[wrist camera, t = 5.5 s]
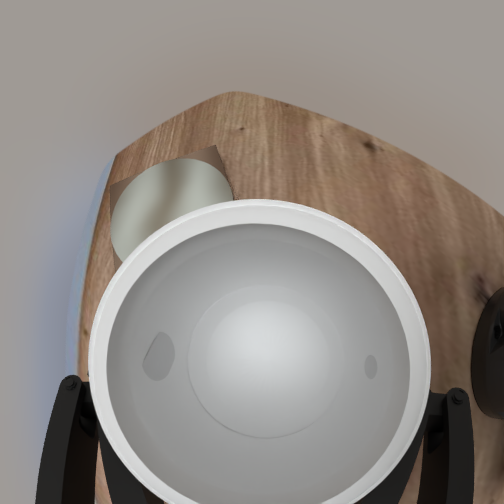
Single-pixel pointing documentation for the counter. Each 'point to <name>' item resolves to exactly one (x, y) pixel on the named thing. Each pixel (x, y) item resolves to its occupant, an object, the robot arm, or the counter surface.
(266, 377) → the jar
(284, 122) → the counter surface
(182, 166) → the seat board
